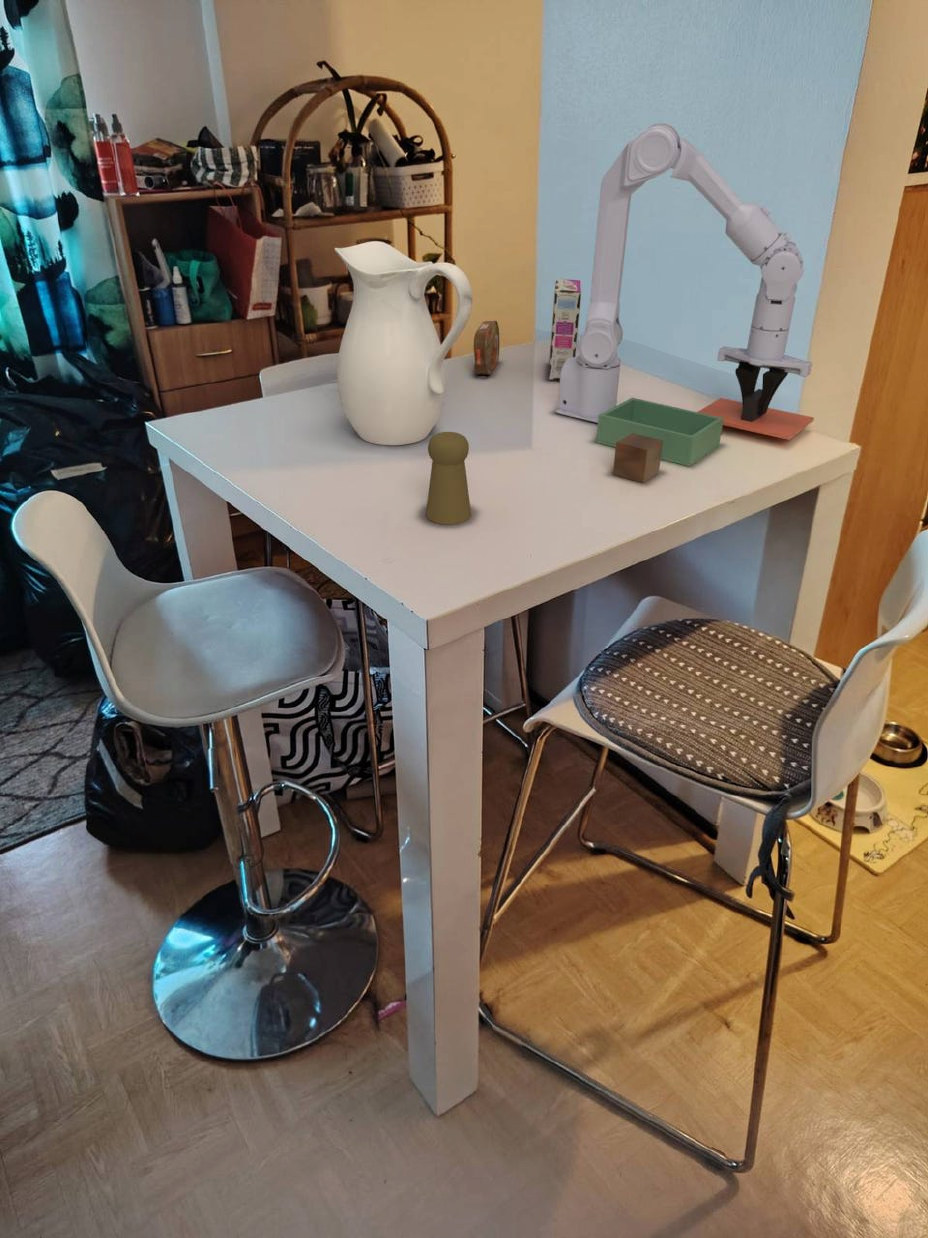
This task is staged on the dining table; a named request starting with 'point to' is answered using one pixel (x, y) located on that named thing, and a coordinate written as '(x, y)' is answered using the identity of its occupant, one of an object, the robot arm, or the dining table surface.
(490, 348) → the tin
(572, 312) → the candy bar box
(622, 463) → the walnut block
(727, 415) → the lunchbox lid
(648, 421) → the box
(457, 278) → the pitcher
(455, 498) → the olive pawn figure
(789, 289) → the robot arm
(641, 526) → the dining table surface
